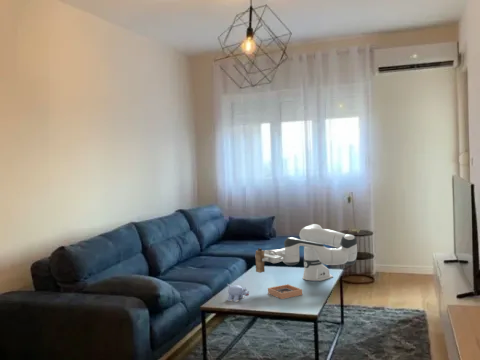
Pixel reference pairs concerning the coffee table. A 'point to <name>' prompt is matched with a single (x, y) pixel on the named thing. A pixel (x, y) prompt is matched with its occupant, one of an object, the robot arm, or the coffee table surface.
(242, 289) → the hippopotamus toy
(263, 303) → the coffee table surface
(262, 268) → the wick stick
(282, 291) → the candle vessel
